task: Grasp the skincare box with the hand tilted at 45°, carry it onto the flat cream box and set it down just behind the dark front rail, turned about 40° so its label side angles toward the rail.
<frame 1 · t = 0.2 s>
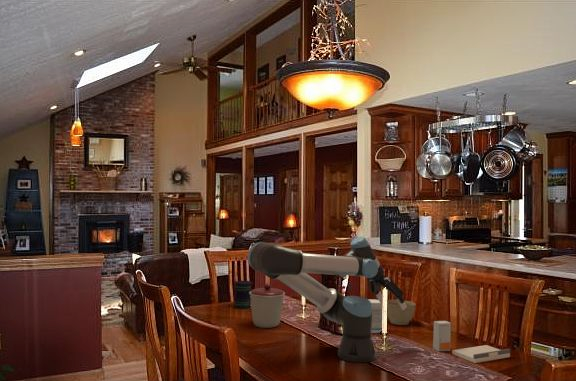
hand: (394, 306, 214), 16 cm above the table, tool tilted 35°, fingers open, 13 cm apart
flat cream box: (480, 355, 196), on the table
storage jar: (242, 307, 276), on the table
planter bowl: (399, 323, 247), on the table
canister: (266, 325, 236), on the table
supplement tub: (373, 331, 230), on the table
skincare box: (441, 350, 202), on the table
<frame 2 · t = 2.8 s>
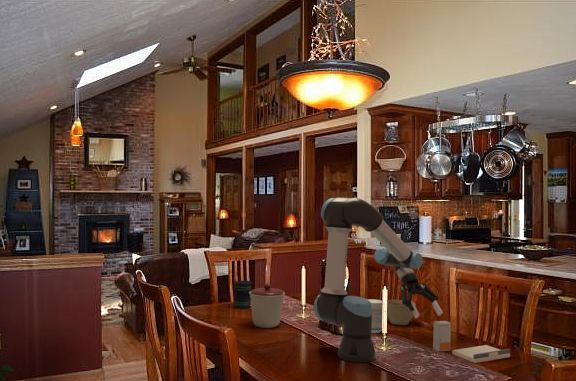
hand: (429, 315, 211), 13 cm above the table, tool tilted 45°, fingers open, 13 cm apart
nothing on the table moved.
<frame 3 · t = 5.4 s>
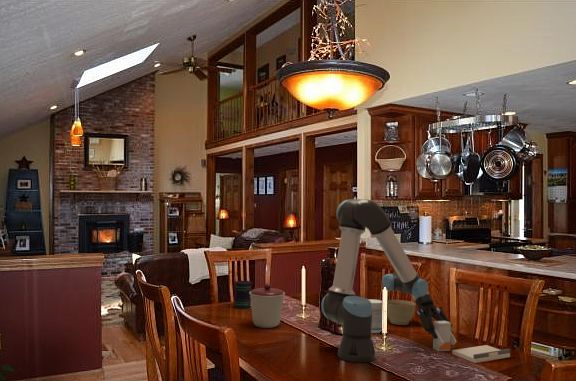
hand: (448, 344, 199), 3 cm above the table, tool tilted 45°, fingers closed on skincare box, 6 cm apart
skincare box: (441, 350, 202), on the table, touching gripper
everything else where it was.
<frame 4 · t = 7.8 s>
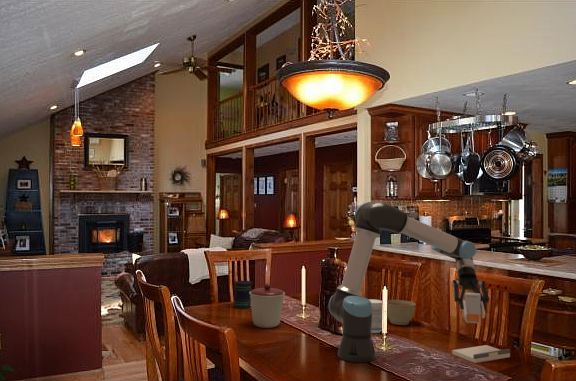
hand: (474, 315, 196), 17 cm above the table, tool tilted 45°, fingers closed on skincare box, 6 cm apart
skincare box: (472, 322, 199), point 13 cm above the table, touching gripper
everything else where it was.
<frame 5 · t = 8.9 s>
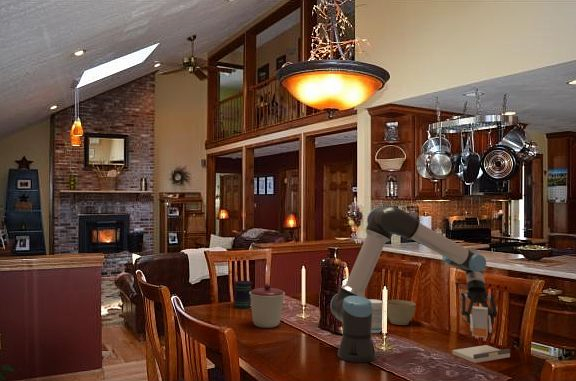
hand: (481, 330, 194), 11 cm above the table, tool tilted 45°, fingers closed on skincare box, 6 cm apart
skincare box: (479, 336, 197), point 8 cm above the table, touching gripper
everything else where it was.
when the fingers open (6 cm above the table, at t = 10.0 s): skincare box drops 1 cm, resting on flat cream box.
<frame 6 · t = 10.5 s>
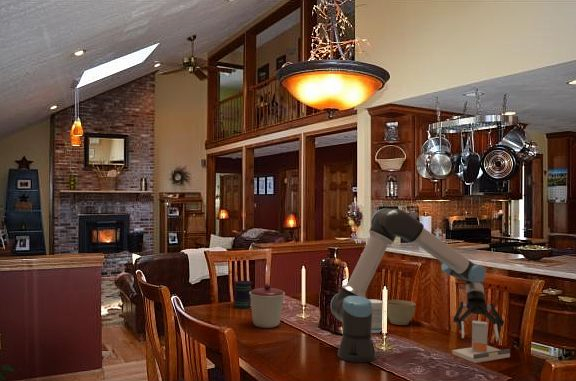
hand: (480, 338, 195), 8 cm above the table, tool tilted 45°, fingers open, 13 cm apart
skincare box: (479, 351, 197), point 1 cm above the table, touching flat cream box
everything else where it was.
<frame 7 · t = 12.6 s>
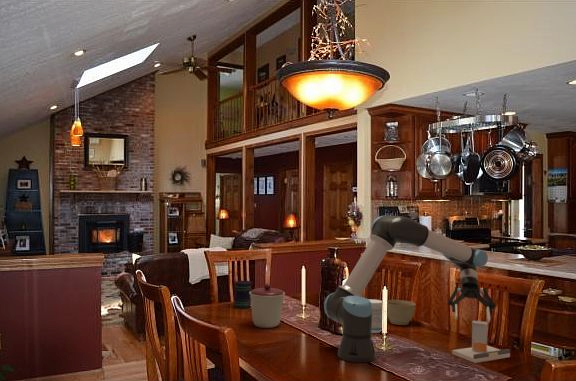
hand: (472, 319, 208), 12 cm above the table, tool tilted 45°, fingers open, 13 cm apart
nothing on the table moved.
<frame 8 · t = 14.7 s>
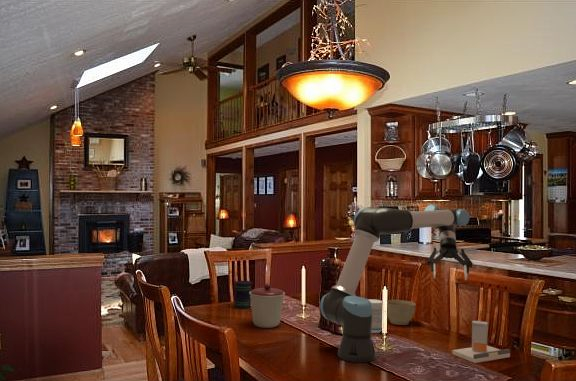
hand: (450, 277, 213), 30 cm above the table, tool tilted 45°, fingers open, 13 cm apart
nothing on the table moved.
at the end: skincare box inside the target area (0.2 cm from its centre), point 1.4 cm above the table; skincare box tilted 0°; the gripper is holding nothing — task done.
